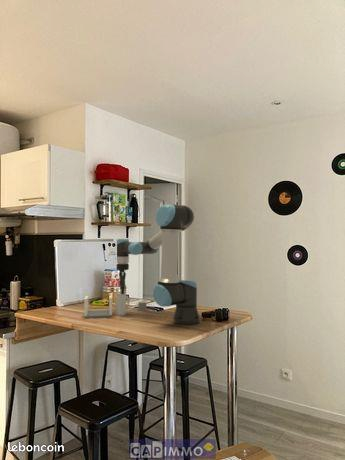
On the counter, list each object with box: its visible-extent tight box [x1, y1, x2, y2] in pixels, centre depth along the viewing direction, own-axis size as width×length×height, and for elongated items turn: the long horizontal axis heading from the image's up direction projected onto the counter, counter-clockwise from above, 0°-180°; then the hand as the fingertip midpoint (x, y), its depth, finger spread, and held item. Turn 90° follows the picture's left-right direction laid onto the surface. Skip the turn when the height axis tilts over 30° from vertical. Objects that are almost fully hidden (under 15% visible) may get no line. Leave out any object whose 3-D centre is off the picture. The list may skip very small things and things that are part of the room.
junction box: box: [137, 300, 147, 312], centre depth 237 cm, size 6×5×5 cm
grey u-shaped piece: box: [83, 294, 113, 320], centre depth 218 cm, size 14×16×12 cm
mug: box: [114, 293, 130, 317], centre depth 222 cm, size 10×7×12 cm, turn 133°
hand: (122, 297), depth 223 cm, fingers open, 13 cm apart
